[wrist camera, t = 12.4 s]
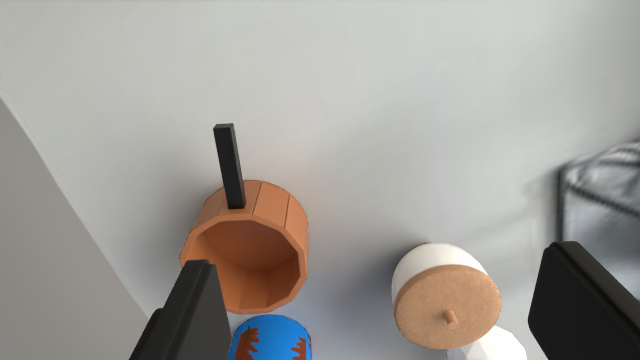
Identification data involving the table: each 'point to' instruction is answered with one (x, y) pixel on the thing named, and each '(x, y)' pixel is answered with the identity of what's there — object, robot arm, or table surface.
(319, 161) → the table surface
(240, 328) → the thermos
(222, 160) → the copper saucepan
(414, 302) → the trinket box
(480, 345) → the decorative ball
